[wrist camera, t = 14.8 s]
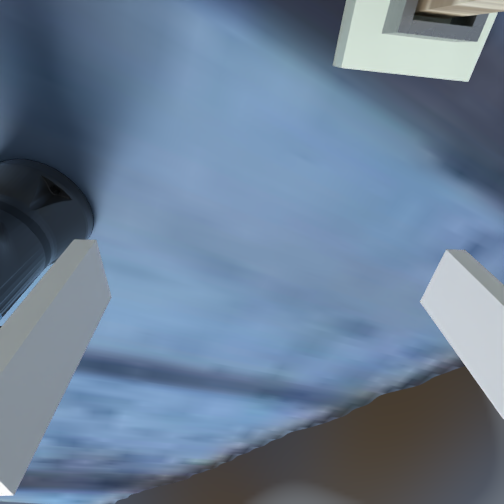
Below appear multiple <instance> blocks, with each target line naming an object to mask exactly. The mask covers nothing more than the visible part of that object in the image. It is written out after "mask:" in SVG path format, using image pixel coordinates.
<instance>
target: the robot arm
mask: <svg viewBox="0 0 504 504" xmlns="http://www.w3.org/2000/svg"><path fill="white" fill-rule="evenodd" d="M92 229H93V215H92V211H91V208H90V205H89V203H88V201H87V199H86V198H85V196H84V195H83V193H82V192H81V191H80V189H79V188H78V187H77V186H76V185H75V184H74V183H73V182H72V181H71V180H70V179H68V178H67V177H66V176H65V175H63V174H62V173H60V172H59V171H57V170H55V169H53V168H51V167H49V166H47V165H45V164H42V163H39V162H36V161H32V160H25V159H12V160H7V161H3V162H1V163H0V320H1V318H2V317H3V316H4V315H5V314H6V312H7V311H8V310H9V309H10V308H11V307H12V306H13V304H14V303H15V302H16V301H17V300H18V299H19V298H20V296H21V295H22V294H23V293H24V292H25V291H26V289H27V288H28V287H29V286H30V285H31V284H32V283H33V281H34V280H35V279H36V278H37V277H38V276H39V275H40V273H41V272H42V271H43V270H44V269H45V268H46V267H47V266H49V265H51V264H53V263H54V264H53V265H52V267H51V268H50V269H49V270H48V271H47V273H46V274H45V275H44V276H43V277H42V279H41V280H40V281H39V282H38V283H37V285H36V286H35V287H34V288H33V289H32V291H31V292H30V293H29V294H28V296H27V297H26V298H25V299H24V300H23V302H22V303H21V304H20V305H19V306H18V308H17V309H16V310H15V311H14V312H13V314H12V315H11V316H10V317H9V318H8V320H7V321H6V322H5V323H4V325H3V326H0V496H8V495H14V494H15V492H16V490H17V488H18V486H19V484H20V482H21V480H22V478H23V476H24V474H25V472H26V470H27V468H28V466H29V464H30V462H31V460H32V458H33V456H34V454H35V452H36V450H37V448H38V446H39V444H40V441H41V439H42V437H43V435H44V433H45V431H46V429H47V427H48V425H49V423H50V421H51V419H52V417H53V415H54V413H55V411H56V409H57V407H58V405H59V403H60V401H61V399H62V397H63V395H64V393H65V391H66V389H67V387H68V385H69V383H70V380H71V378H72V376H73V374H74V372H75V370H76V368H77V366H78V364H79V362H80V360H81V358H82V356H83V354H84V352H85V350H86V348H87V346H88V344H89V342H90V340H91V338H92V336H93V334H94V332H95V330H96V328H97V326H98V324H99V322H100V319H101V317H102V315H103V313H104V311H105V309H106V307H107V305H108V303H109V301H110V299H111V294H110V290H109V286H108V282H107V279H106V275H105V271H104V267H103V264H102V260H101V256H100V252H99V249H98V245H97V241H96V240H88V238H89V237H90V235H91V232H92ZM420 302H421V304H422V305H423V307H424V308H425V309H426V311H427V312H428V314H429V315H430V317H431V318H432V319H433V321H434V322H435V324H436V325H437V326H438V328H439V329H440V331H441V332H442V333H443V335H444V336H445V338H446V339H447V340H448V342H449V343H450V345H451V346H452V348H453V349H454V350H455V352H456V353H457V355H458V356H459V357H460V359H461V360H462V362H463V363H464V364H465V366H466V367H467V369H468V370H469V371H470V373H471V374H472V376H473V377H474V379H475V380H476V381H477V383H478V384H479V385H480V387H481V388H482V390H483V391H484V392H485V394H486V395H487V397H488V398H489V399H490V401H491V402H492V404H493V405H494V407H495V408H496V409H497V411H498V412H499V414H500V415H501V416H502V418H503V419H504V285H503V284H502V283H501V282H500V281H499V280H498V279H497V278H495V277H494V276H493V275H492V274H491V273H490V272H489V271H488V270H487V269H485V268H484V267H483V266H482V265H481V264H480V263H479V262H478V261H477V260H476V259H474V258H473V257H472V256H471V255H470V254H469V253H468V252H467V251H466V250H448V249H446V251H445V253H444V255H443V257H442V259H441V261H440V263H439V265H438V267H437V269H436V271H435V273H434V275H433V277H432V279H431V281H430V283H429V285H428V287H427V289H426V291H425V293H424V295H423V297H422V299H421V301H420Z"/></svg>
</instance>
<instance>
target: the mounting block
mask: <svg viewBox="0 0 504 504" xmlns="http://www.w3.org/2000/svg"><path fill="white" fill-rule="evenodd" d="M389 4H390V0H346V4H345V9H344V14H343V19H342V23H341V28H340V33H339V38H338V43H337V48H336V52H335V57H334V62H333V66H336V67H340V68H347V69H357V70H366V71H375V72H384V73H393V74H402V75H411V76H420V77H430V78H439V79H448V80H457V81H466V82H468V81H469V79H470V76H471V74H472V72H473V69H474V67H475V65H476V62H477V60H478V58H479V55H480V53H481V51H482V48H483V46H484V44H485V41H486V39H487V37H488V34H489V32H490V30H491V27H492V25H493V23H494V20H495V18H496V16H497V14H498V12H495V13H489V15H488V18H487V20H486V23H485V25H484V27H483V30H482V32H481V35H480V37H479V39H478V42H449V41H440V40H431V39H423V38H414V37H406V36H397V35H389V34H381V33H382V30H383V26H384V22H385V18H386V15H387V11H388V7H389ZM413 20H418V21H426V22H435V23H443V24H450V23H451V20H452V18H447V19H441V18H433V17H425V16H416V15H414V17H413Z"/></svg>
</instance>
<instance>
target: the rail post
mask: <svg viewBox="0 0 504 504" xmlns="http://www.w3.org/2000/svg"><path fill="white" fill-rule="evenodd" d="M503 11H504V0H418V4H417V7H416V10H415V13H414V15H416V16H425V17H433V18H441V19H447V18H455V17H463V16H471V15H479V14H487V13H495V12H503Z"/></svg>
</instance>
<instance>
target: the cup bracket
mask: <svg viewBox="0 0 504 504" xmlns="http://www.w3.org/2000/svg"><path fill="white" fill-rule="evenodd" d="M417 4H418V0H390V4H389V7H388V11H387V15H386V18H385V22H384V26H383V30H382V33H381V34H389V35H397V36H406V37H414V38H423V39H431V40H440V41H449V42H478V39H479V37H480V35H481V32H482V30H483V27H484V25H485V23H486V20H487V18H488V15H489V13H487V14H479V15H471V16H463V17H455V18H452V20H451V23H450V24H443V23H435V22H426V21H418V20H413V17H414V13H415V10H416V7H417Z"/></svg>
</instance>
